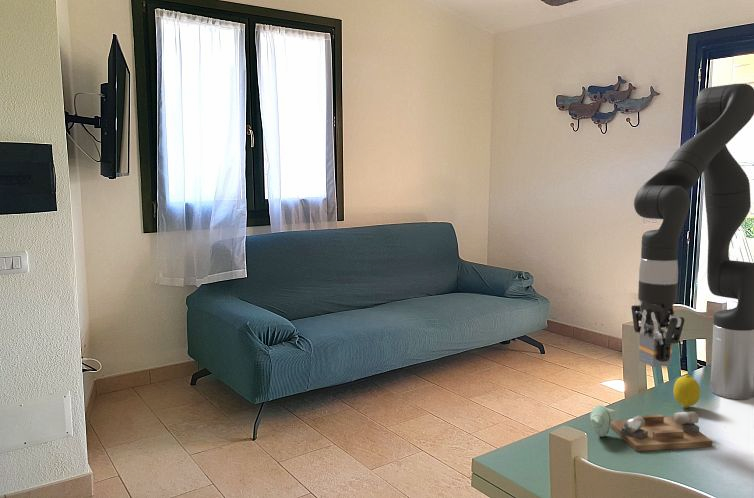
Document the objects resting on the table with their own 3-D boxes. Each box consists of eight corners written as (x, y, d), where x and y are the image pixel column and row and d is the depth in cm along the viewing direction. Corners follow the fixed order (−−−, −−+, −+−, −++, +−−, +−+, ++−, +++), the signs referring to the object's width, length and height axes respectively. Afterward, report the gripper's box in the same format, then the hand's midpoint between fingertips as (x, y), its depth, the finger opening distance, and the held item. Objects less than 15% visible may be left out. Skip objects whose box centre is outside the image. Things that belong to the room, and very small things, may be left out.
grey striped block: (656, 358, 130) (657, 331, 129) (671, 364, 125) (672, 337, 125) (638, 360, 129) (639, 333, 128) (652, 366, 124) (653, 339, 124)
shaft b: (629, 428, 126) (629, 412, 125) (649, 435, 122) (650, 419, 122) (619, 434, 123) (619, 418, 123) (639, 441, 120) (640, 424, 120)
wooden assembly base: (678, 421, 131) (679, 401, 131) (712, 446, 119) (713, 424, 119) (608, 425, 130) (609, 405, 130) (635, 451, 119) (636, 428, 118)
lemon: (702, 413, 135) (704, 379, 134) (676, 411, 137) (678, 378, 135) (694, 403, 141) (696, 371, 140) (670, 402, 142) (671, 370, 141)
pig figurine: (600, 445, 122) (600, 414, 121) (581, 438, 125) (582, 408, 124) (618, 433, 127) (619, 403, 126) (600, 427, 130) (601, 398, 129)
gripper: (698, 284, 119) (694, 366, 121) (650, 273, 133) (647, 346, 135) (666, 286, 117) (663, 369, 119) (621, 275, 131) (618, 349, 133)
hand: (654, 357), depth 127 cm, fingers closed on grey striped block, 4 cm apart
